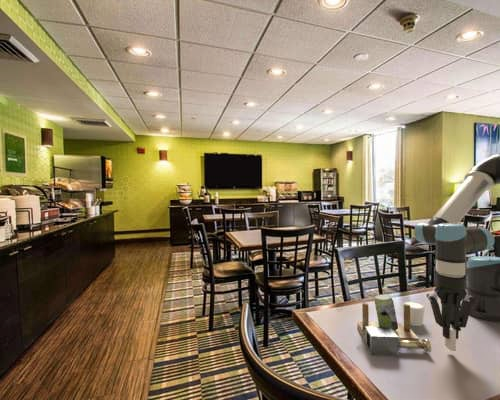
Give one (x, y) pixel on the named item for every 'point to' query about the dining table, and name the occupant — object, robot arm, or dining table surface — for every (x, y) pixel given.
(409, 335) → the peg stand
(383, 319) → the beverage can
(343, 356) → the dining table surface
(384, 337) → the slot block
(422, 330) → the dining table surface
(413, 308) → the beige tapered cylinder
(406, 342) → the pin
